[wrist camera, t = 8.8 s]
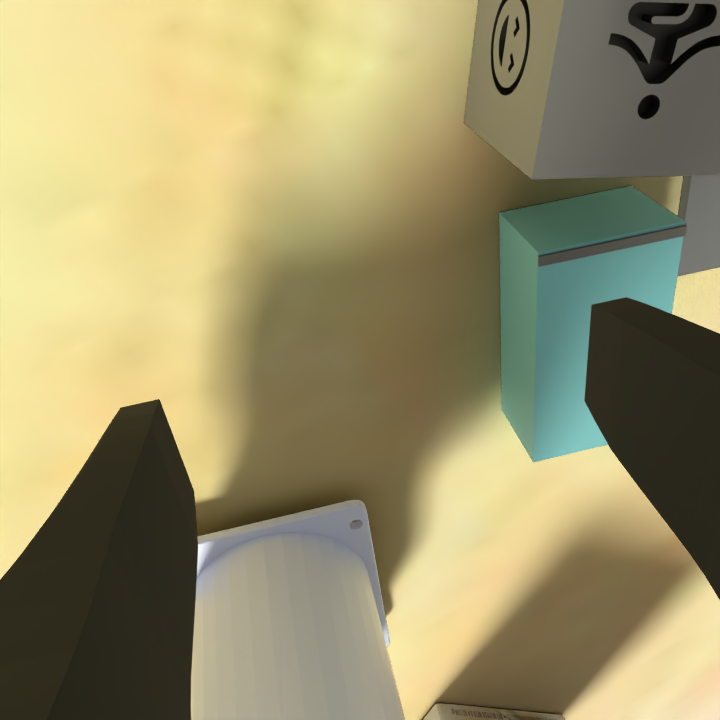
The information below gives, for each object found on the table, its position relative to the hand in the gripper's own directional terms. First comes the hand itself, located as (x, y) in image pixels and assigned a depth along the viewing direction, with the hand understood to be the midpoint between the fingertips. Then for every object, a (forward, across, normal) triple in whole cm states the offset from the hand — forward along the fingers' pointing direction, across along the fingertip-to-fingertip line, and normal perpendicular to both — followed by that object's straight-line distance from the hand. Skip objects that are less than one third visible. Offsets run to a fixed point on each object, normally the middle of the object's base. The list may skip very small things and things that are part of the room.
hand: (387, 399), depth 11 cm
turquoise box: (+10, -8, +6) cm, 14 cm away
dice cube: (+11, -8, -3) cm, 14 cm away
